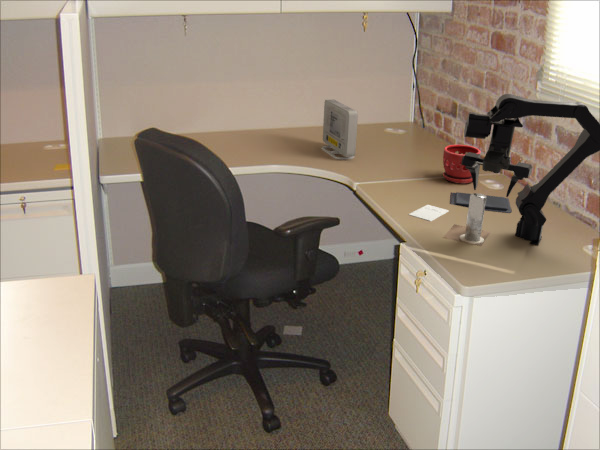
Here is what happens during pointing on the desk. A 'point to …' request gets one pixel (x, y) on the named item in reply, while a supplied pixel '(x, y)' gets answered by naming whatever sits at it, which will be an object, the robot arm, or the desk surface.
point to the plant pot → (457, 163)
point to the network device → (339, 129)
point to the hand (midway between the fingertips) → (490, 193)
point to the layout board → (459, 233)
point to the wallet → (491, 204)
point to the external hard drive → (428, 212)
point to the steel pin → (475, 217)
